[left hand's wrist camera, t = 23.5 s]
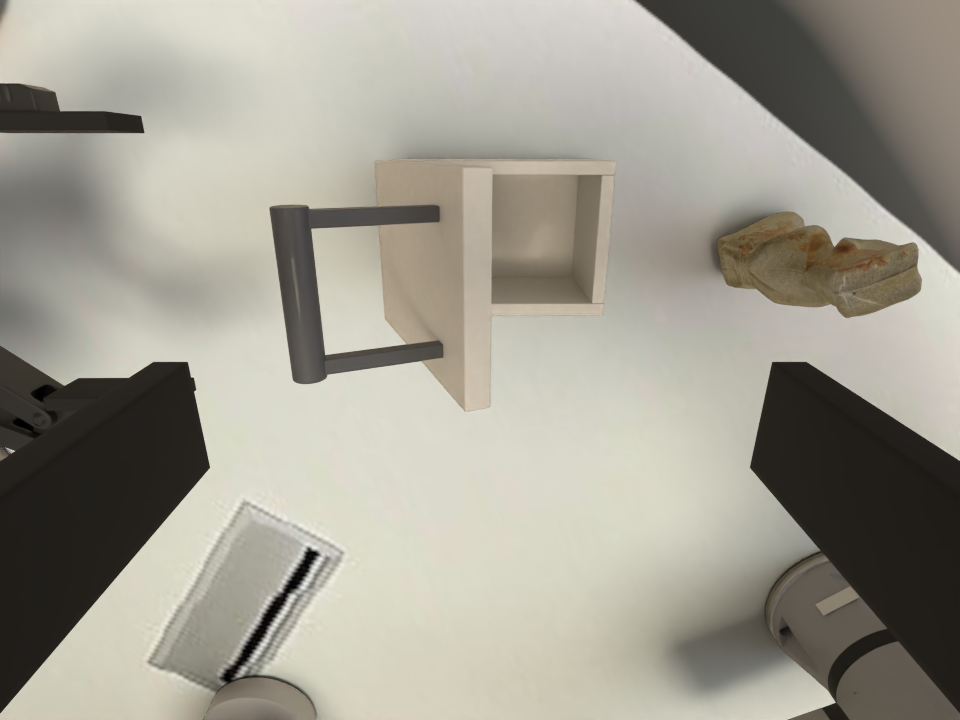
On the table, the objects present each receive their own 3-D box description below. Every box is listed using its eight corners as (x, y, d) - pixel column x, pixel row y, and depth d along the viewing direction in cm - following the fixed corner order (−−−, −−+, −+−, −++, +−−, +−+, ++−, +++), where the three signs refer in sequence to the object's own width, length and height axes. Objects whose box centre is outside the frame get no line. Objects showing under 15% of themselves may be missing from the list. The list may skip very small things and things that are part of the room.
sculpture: (796, 266, 46) (935, 317, 32) (712, 291, 47) (811, 350, 33) (790, 199, 44) (935, 221, 30) (702, 225, 45) (803, 259, 31)
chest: (588, 158, 43) (616, 160, 34) (579, 284, 47) (603, 315, 38) (405, 158, 43) (386, 160, 34) (411, 284, 47) (395, 315, 38)
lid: (493, 166, 21) (267, 169, 18) (491, 407, 24) (304, 442, 21) (394, 160, 34) (255, 161, 31) (402, 317, 37) (279, 331, 35)
